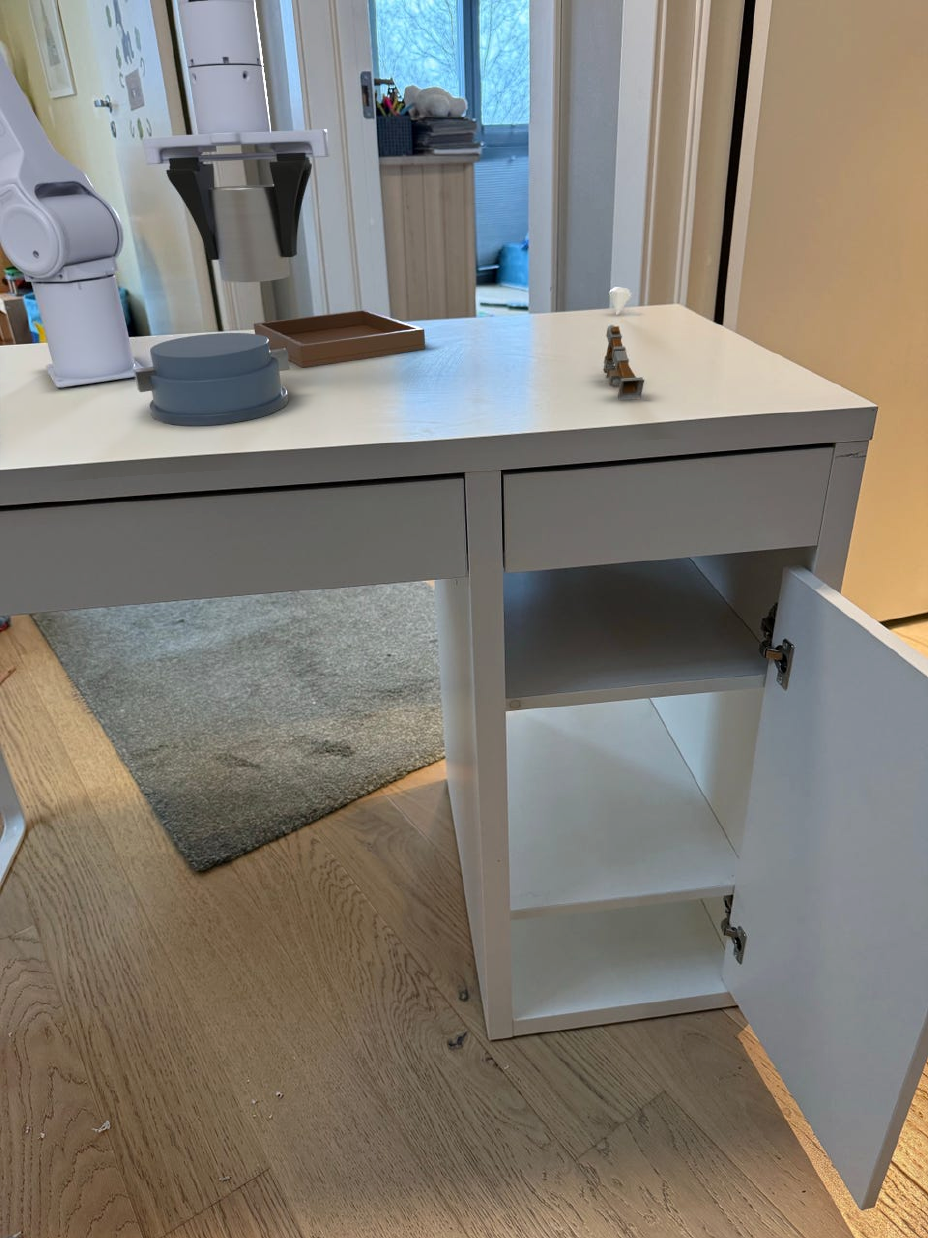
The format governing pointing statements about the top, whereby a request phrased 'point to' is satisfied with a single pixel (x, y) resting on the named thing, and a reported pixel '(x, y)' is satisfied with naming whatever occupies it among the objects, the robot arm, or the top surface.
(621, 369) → the brown grey angular piece
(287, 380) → the top surface
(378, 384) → the top surface
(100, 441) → the top surface
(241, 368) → the lidded cooking pot
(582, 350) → the top surface
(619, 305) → the gemstone
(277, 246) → the cup
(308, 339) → the tray
